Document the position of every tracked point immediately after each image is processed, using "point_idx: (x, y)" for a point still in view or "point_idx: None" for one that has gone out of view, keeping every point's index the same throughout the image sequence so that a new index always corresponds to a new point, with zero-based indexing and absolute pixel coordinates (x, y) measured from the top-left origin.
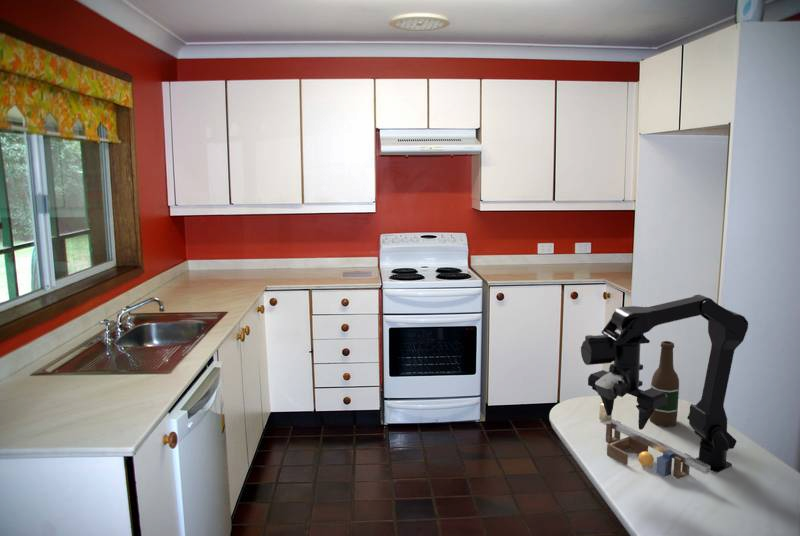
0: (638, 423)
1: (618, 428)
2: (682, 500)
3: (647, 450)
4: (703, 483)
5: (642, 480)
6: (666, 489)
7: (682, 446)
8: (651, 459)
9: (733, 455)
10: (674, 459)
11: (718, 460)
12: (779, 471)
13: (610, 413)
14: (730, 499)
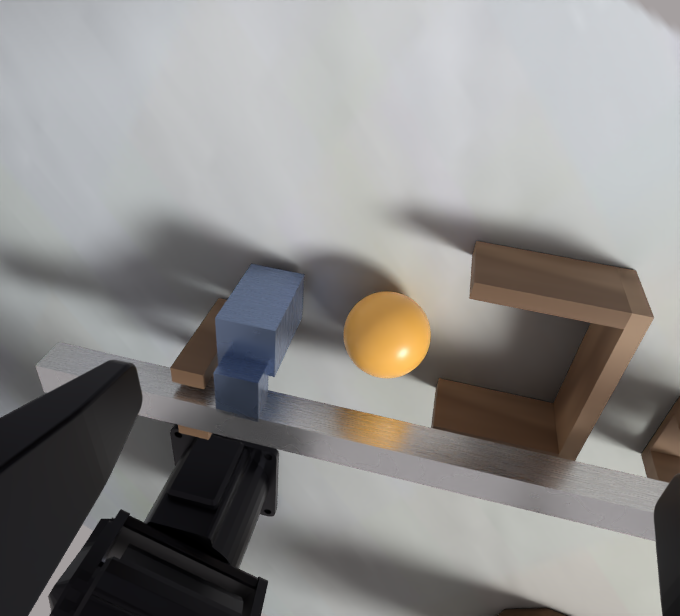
0: (71, 414)
1: (652, 494)
2: (71, 135)
3: (433, 411)
4: (144, 332)
5: (310, 158)
6: (180, 171)
7: (377, 520)
8: (344, 334)
9: None
10: (206, 366)
11: (169, 477)
12: (102, 518)
13: (667, 522)
14: (17, 292)
